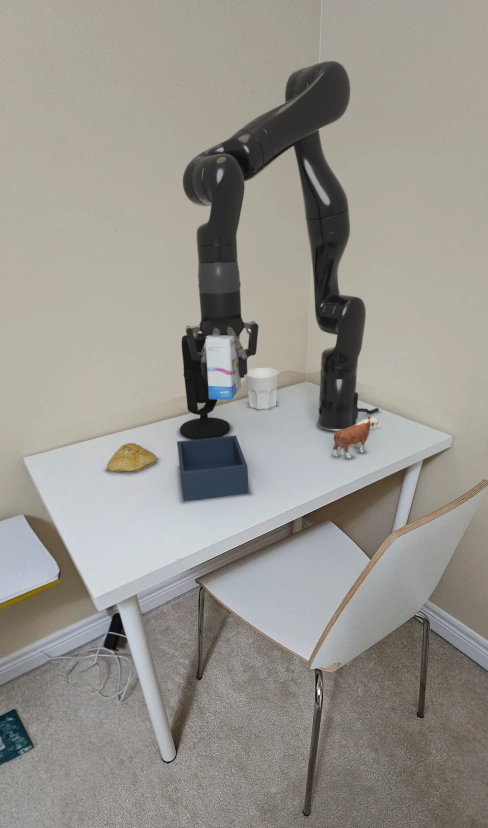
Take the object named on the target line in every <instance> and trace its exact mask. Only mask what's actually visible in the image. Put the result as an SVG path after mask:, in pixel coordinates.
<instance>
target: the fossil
mask: <svg viewBox="0 0 488 828" xmlns="http://www.w3.org/2000/svg"><path fill="white" fill-rule="evenodd" d="M157 460H158V459H157V456H156V454H154V452H152V451H150V450H147V449H145V448H144V447H142V446H141V445H139V444H138V443H134V442H130V443H129V442H128V443H124V444H122V445H121V446H120V447H119V448H118V449H117V451H116V452H115V453H114V454H113V455H112V456H111V457H110V459H109V460H108V462H107V464H106V469H107V470H109V471H110V472H118V473H135V472H139V471H140V472H141V471H143V470H144V469H146V468H148V467H150V466H152V465H153V464H155V463H156V462H157Z"/></svg>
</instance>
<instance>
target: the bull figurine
mask: <svg viewBox="0 0 488 828" xmlns="http://www.w3.org/2000/svg"><path fill="white" fill-rule="evenodd" d="M381 428H382V425H381V423H380V422H379V421H378V419H377V418H375V416H369V415H368V416H367V418H364V419H362V420H360V421H358V422H356V424H354V425H352V426H350V427H348V428H344V429H342V430H339V431H337V432H334V434H333V441H334V446H333V447H332V449H333V454H332V455H333V456H334V457H336V458H337V457H339V453H338V448H339V451H340V454H341V456H344V455H345V457H346V458H348V459H352V458H353V457H352V455H351V454H350V453H349V448H351V447H352V446H353V445H355V447H356V448H357V449H358V451H359V452H360V453H362V454H363V453H365V451H364V448H363V447H364V446H365V443H366V442H367V440H368V437H369V435H370V433H371V432H374V431H375V430H376V429H377V430H380V429H381Z"/></svg>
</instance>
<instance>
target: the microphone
mask: <svg viewBox="0 0 488 828" xmlns="http://www.w3.org/2000/svg"><path fill="white" fill-rule="evenodd" d="M206 339H207V338H206V337H205V336H204V335H203V334H202V332H198V337H197V338H195V339H194V340H195V345H196V350H197V352H199V353H201V352H202V350H203V347H204V344H205V340H206ZM181 353H182V364H183V365H182V366H183V377H184V388H185V396H186V407H187V411H188V412H189V413H191V414H193V415H197V416H199V417H197V418H193V419H190V420H187V421H185V422H184V423H182V425H180V427H179V433H180V436H182V437H184V438H185V439H187V440H195V439H205V438H215V437H224V436H227V434H228V433H229V432H230V431H231V426H230V423H229V421H227V420H225V419H223V418H219V417H212V416H209V414H210V413H212V412H213V411H214V409H215V407H216V406H217V403H218V399H209V389H208V381H206V378H203V375H202V367H201V362H200V361H198V360H193V359H192V357H191V353H190V348H189V344H188V339H187V334H185V335H183V336H182V337H181ZM198 404H204V405H203V407H201V408H200V409H199V405H198Z"/></svg>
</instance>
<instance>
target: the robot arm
mask: <svg viewBox="0 0 488 828" xmlns="http://www.w3.org/2000/svg"><path fill="white" fill-rule="evenodd" d="M350 99H351V82H350V77H349V75H348V71H347V70H346V68H345V66H344V65H343V64H341V63H340V62H339V61H335V60H326V61H322V62H319V63H315V64H312V65H308V66H306V67H302V68H299V69H296V70H295V71H293V72H292V73H291V74H290V75H289V77H288V78H287V81H286V84H285V88H284V103H282V104H279V105H278V106H276V107H274V108H272V109H269V110H268V111H266V112H264V113H262V114H260V115H258V116H256V117H255V118H253V119H252V120H250V121H249V122H248V123H246V124H245V125H244V126H242V127H241V128H240V129H238V130H237V131H236V132H234V133H233V134H232V135H231V136H230V137H229V138H227V139H226V140H224V141H222V142H220V143H217V144H216V145H214V146H211V147H209V148H208V149H206V150H204V151H202V152H200V153H199V154H197V155H195V156H194V157H193V158H191V160H190V161H189V162H188V163H187V164H186V167H185V169H184V171H183V175H182V189H183V192H184V195H185V196H186V198H187V199H188V200H189V201H190V202H191V203H192V204H194V205H196V206H199V207H210V212H209V217H208V220H207V222H204V223H202V224H200V225H199V226H198V227H197V229H196V235H195V236H196V251H197V252H196V253H197V261H198V262H197V282H198V283H197V284H198V291H199V292H198V295H199V296H198V297H199V308H200V322H199V324H198V325H193V326H192V325H191V326H190V325H187V326H185V333H186V334H185V335H187V339H188V344H189V348H190V353H191V357H192V359H193V360H198V361H200V362H201V367H202V375H203V378H206V381H208V373H207V358H206V341H205V344H204V347H203V350H202V352H201V353H199V352H197V350H196V345H195V340H194V339H195V338H197V337H198V333H202V334H203V335H204V336H205V337H207V336H219V335H229V336H234V339H235V340H234V345H235V347H236V349H237V351H238V353H239V355H240V357H239V376H240V378H241V379H244V378H245V375H247V371H248V358H249V357H251V356H255V355H256V354H257V348H258V336H259V324H258V323H257V322H256V321H254V320H251V321H250V322H247V321H244V320H243V317H242V299H241V285H242V283H241V275H240V268H239V259H238V239H237V236H238V235H237V234H238V230H239V226H240V225H239V224H240V220H241V213H242V208H243V203H244V199H245V188H246V187H245V186H246V184H245V183H246V182H248V181H251V180H253V179H254V178H256V177H257V176H258V175H260V174H261V173H262V172H263V171H264V170H266V169H267V168H268V167H269V166H270V165H272V163H274V161H276V160H277V159H278V158H280V157H281V156H282V155H284V153H286V152H287V151H288V150H291V148H292V147H293V150H294V154H295V159H296V163H297V169H298V176H299V181H300V187H301V188H300V189H301V193H302V200H303V208H304V218H305V224H306V231H307V236H308V245H309V250H310V256H311V257H310V259H311V267H312V276H313V277H312V278H313V292H314V293H313V297H314V314H315V320H316V324H317V326H318V328H319V330H320V331H322V332H323V333H325V334H331V335H334V336H336V342H335V345H334V346H332V347H328V348H325V349H324V350H323V351H322V352H321V355H320V374H319V375H320V379H319V401H318V403H319V404H318V407H317V408H318V409H317V411H318V422H317V426H318V428H320V429H321V430H323V431H326V432H332V433H336V432H337V431H339V430H342V429H344V428H348V427H350V426H352V425H354V424H356V423H357V419H358V418H359V413H366V414H368V415H371V414H374V413H376V412H379V411H380V409H379V407H376V408H373V409H370V410H369V409H368V408H364V407H361V408H359V407H358V402H359V401H358V400H359V393H358V392H357V377H358V366H359V364H358V363H359V357H360V354H361V351H362V348H363V341H364V334H365V327H366V319H367V317H366V316H367V310H366V305H365V302H364V300H363V299H362V298H361V297H358V296H355V295H348V294H341V293H340V288H339V267H340V263H341V261H342V259H343V256H344V254H345V251H346V248H347V247H348V243H349V241H350V235H351V220H350V219H351V218H350V208H349V200H348V196H347V193H346V192H345V190H344V187H343V185H342V184H341V182H340V180H339V178H338V177H337V176H336V174H335V173H334V171H333V170H332V168H331V166H330V165H329V163H328V161H327V158H326V156H325V153H324V150H323V146H322V145H323V144H322V141H321V136H320V134H321V133H320V130H321V129H322V128H325V127H327V126H330V125H332V124H334V123H336V122H337V121H339V120H340V119H341V118H342V117H343V116H344V114H346V111H347V110H348V107H349V105H350ZM244 329H245V332H246V333H247V334H248V344H247V347H246V348H245V349H244V347H243V345H242V343H241V340H240V341H239V340H238V337H239V335H240V336H241V333H242V332H243V330H244ZM236 343H237V344H236Z"/></svg>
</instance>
